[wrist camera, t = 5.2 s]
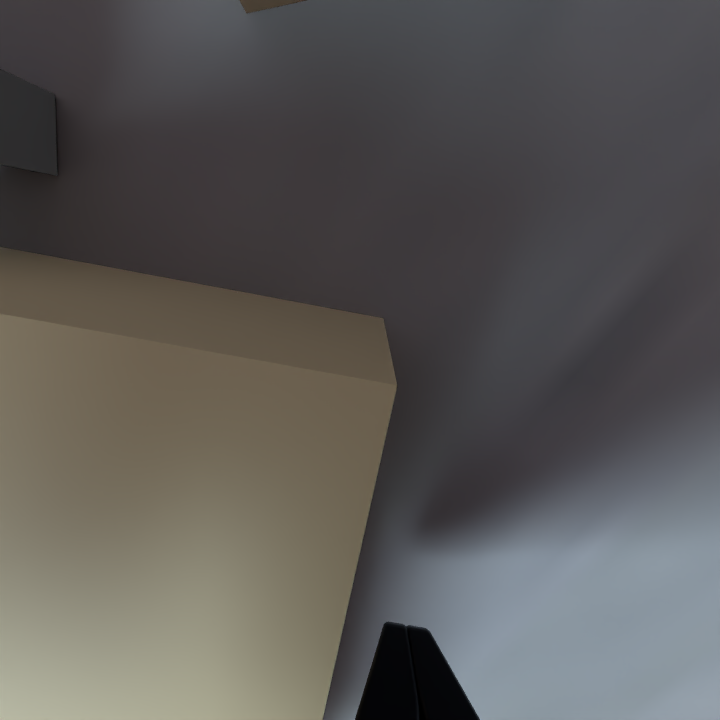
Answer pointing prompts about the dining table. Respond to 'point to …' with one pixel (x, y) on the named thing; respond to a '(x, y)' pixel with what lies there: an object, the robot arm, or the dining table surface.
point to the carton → (178, 493)
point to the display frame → (27, 126)
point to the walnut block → (264, 4)
